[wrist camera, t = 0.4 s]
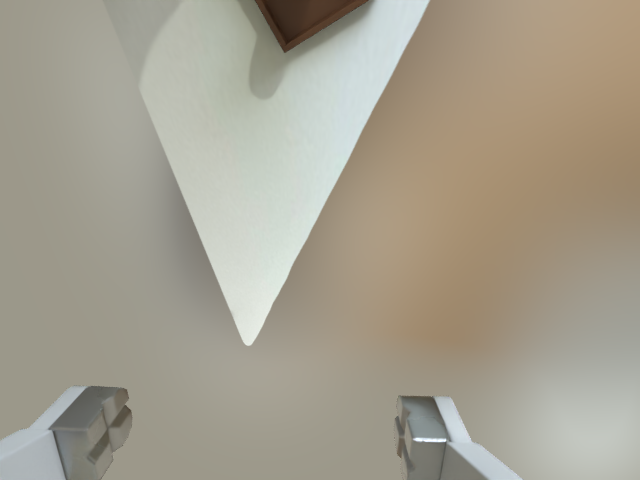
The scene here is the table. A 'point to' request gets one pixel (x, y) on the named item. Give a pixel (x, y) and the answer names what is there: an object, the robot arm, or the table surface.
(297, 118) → the table surface
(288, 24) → the tray
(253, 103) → the table surface
